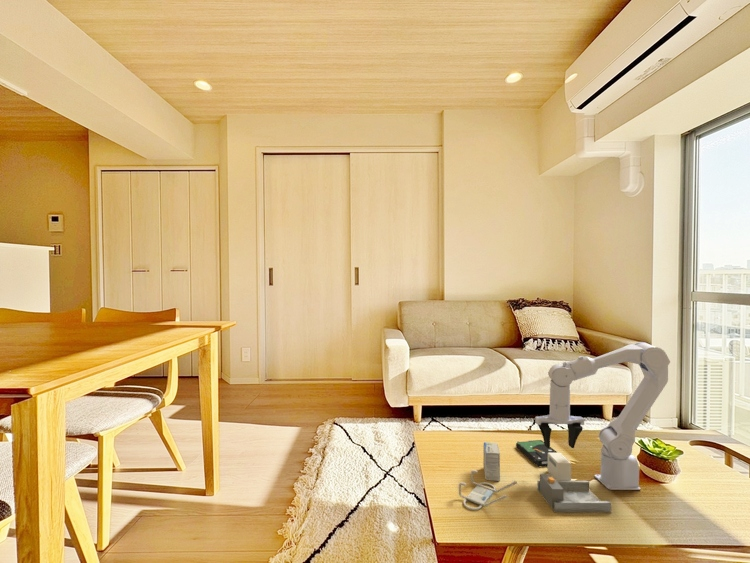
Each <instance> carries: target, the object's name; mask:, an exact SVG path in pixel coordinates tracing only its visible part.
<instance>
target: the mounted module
mask: <svg viewBox="0 0 750 563" xmlns="http://www.w3.org/2000/svg"><path fill="white" fill-rule="evenodd" d="M539 481H540V492H541V493H542V495H543V496H544V497H545V499H546V500H547V501H548V503H549V504H550V505H551V506H552V507H554V501H563V497H564V489H563V488H562V487H561V486H560V485H559V483H558V482H557V481H556V480H555V479H554V478H553V476H552V475H551V474H550V473H539ZM540 492H539V493H540ZM542 495H541V496H542ZM543 496H542V497H543ZM544 497H543V498H544ZM545 499H544V500H545ZM546 500H545V501H546ZM547 501H546V502H547ZM548 503H547V504H548ZM549 504H548V505H549ZM550 505H549V506H550Z"/></svg>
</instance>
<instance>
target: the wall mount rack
mask: <svg viewBox="0 0 750 563" xmlns="http://www.w3.org/2000/svg"><path fill="white" fill-rule="evenodd" d="M473 474H478V470H476V469H472V470H471V472H470V481H471V483H472V484H474V485H475V487H474V488H473V489H472V490H471V491H470V493H469V494H468V495H467V496H466V495H463V494H462V487H463V486H464V487H465V486H467V483H466V482H459V483H458V495H459V496H460V497H461V498H462V499H464V500H463V506H464V507H465V508H467V509H469V510H470V511H471V510H472V511H478V510H480V509H482V507H488V506H490V505H493V504H494V503H496V502H497V503H498V502H499V501H502V500H505V499H507V498H508V496H507V494H503V495H501V496H500V497H498V498H495V499H494V500H491V501H490V502H489V500H490V498H491V497H492V496H493V495H494V493H500V492H501V491H503V490H505V489H508V488H510V487H511V486H512V487H513V486H515V485H516V484H518V481H517V480H514V481H512V482H511V483H509V484H507V485H505V486H503V487H501V488H498V489H497V488H496V487H495V485H493V484H492V483H490V482H486V481H485V482H484V481H483V482H475V481H474V475H473ZM486 485H487V486H486ZM489 486H490V487H489ZM491 487H492V488H491ZM496 489H497V490H496ZM466 502H469V503H470V502H471V503H474V504H476V505H479V506H477V507H472V506H469V505H467V503H466Z"/></svg>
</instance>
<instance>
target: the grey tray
mask: <svg viewBox="0 0 750 563" xmlns="http://www.w3.org/2000/svg"><path fill="white" fill-rule="evenodd" d="M557 482H558V483H559V485H560V486H561V487H562V488H563V489H564V497H563V501H554V507H552V506H551V505H550V504H549V503H548V501H547V500H546V499H545V497H544V496H543V495H542V493H541V492H540V480H537V483H536V484H537V486H536V488H537V489H536V490H537V491H538V492H539V493H540V495H541V496H542V497H543V499H544V500H545V501H546V503H547V504H548V505H549V507H550V509H552V510H553V513H559V514H560V513H561V514H562V513H565V514H566V513H569V514H570V513H571V514H574V513H576V514H577V513H579V514H580V513H582V514H583V513H584V514H585V513H588V514H589V513H590V514H591V513H593V514H594V513H599V514H601V513H602V514H603V513H606V514H608V513H609V514H610V513H611V514H612V502H611V501H609V500H602V501H601V500H600V498H598V496H596V495H595V494H594V492H592V490H590V481H589V480H571V481H557Z"/></svg>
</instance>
